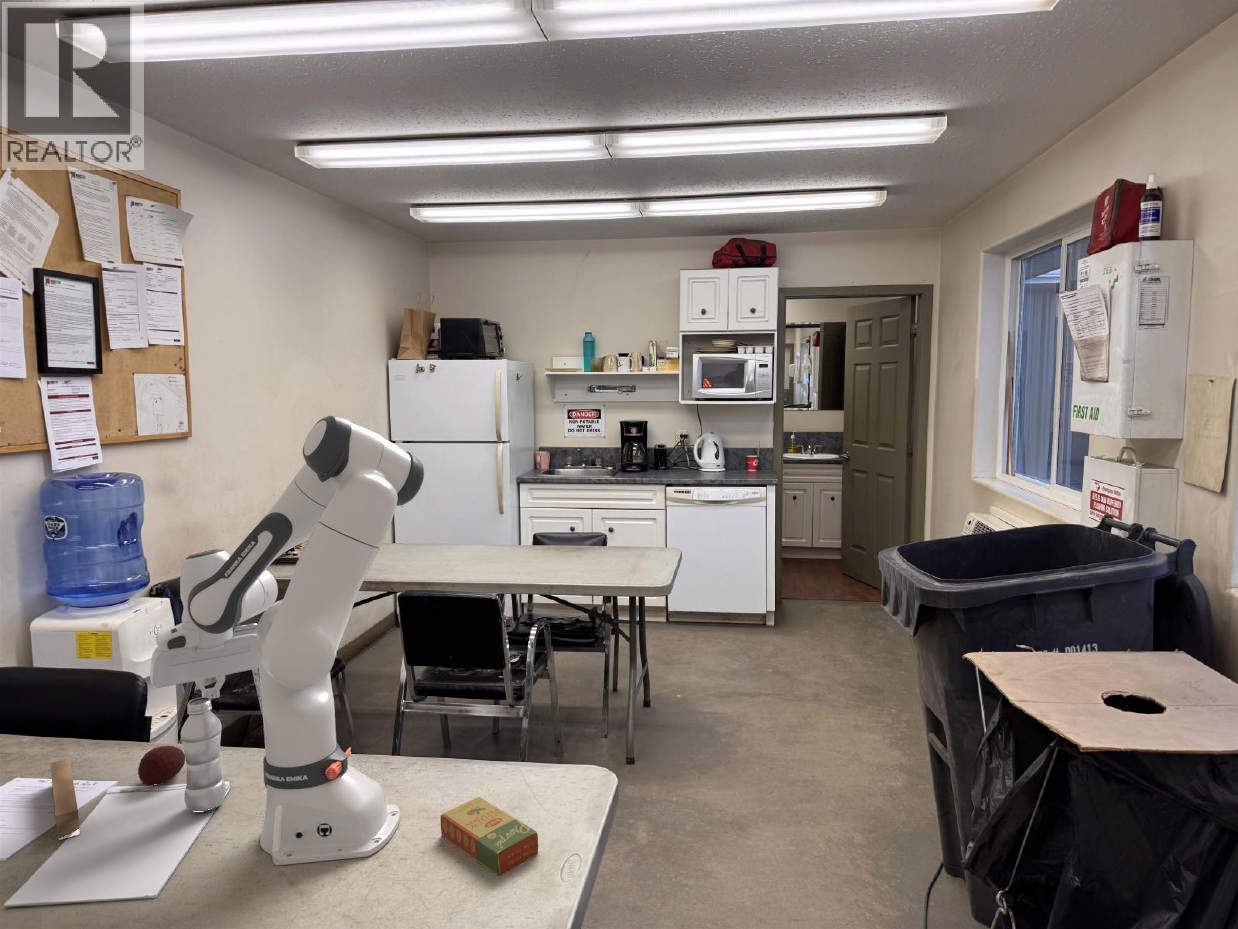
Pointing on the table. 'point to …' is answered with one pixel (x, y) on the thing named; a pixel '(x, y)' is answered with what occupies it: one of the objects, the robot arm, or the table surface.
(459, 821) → the carton
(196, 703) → the plastic bottle
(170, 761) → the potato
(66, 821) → the board
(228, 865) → the table surface
